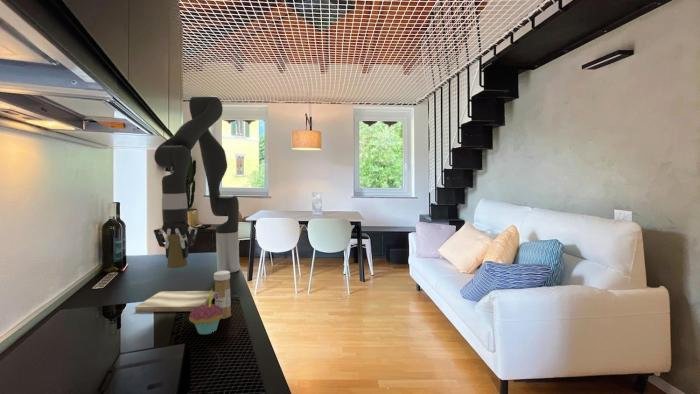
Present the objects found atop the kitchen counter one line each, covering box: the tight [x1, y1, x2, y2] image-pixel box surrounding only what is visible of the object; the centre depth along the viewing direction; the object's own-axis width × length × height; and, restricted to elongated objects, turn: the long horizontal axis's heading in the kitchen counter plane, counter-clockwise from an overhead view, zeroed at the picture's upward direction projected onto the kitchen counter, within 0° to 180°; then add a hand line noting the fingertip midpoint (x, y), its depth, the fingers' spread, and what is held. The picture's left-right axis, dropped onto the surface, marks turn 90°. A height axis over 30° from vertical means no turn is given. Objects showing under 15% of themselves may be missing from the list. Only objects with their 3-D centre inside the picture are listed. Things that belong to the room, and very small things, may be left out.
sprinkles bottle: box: [213, 271, 232, 320], centre depth 109 cm, size 5×5×13 cm
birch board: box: [134, 290, 215, 313], centre depth 122 cm, size 15×20×2 cm
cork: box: [167, 233, 188, 269], centre depth 121 cm, size 6×6×11 cm
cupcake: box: [188, 288, 223, 335], centre depth 99 cm, size 9×8×12 cm
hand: (177, 258), depth 121 cm, fingers closed on cork, 4 cm apart
